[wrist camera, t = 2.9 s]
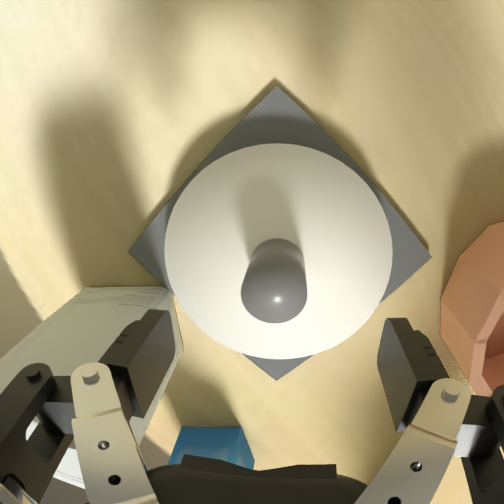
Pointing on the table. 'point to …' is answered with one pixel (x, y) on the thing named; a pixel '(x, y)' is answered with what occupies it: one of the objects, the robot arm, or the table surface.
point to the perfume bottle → (213, 445)
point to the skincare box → (89, 347)
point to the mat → (285, 132)
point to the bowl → (477, 311)
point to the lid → (278, 251)
